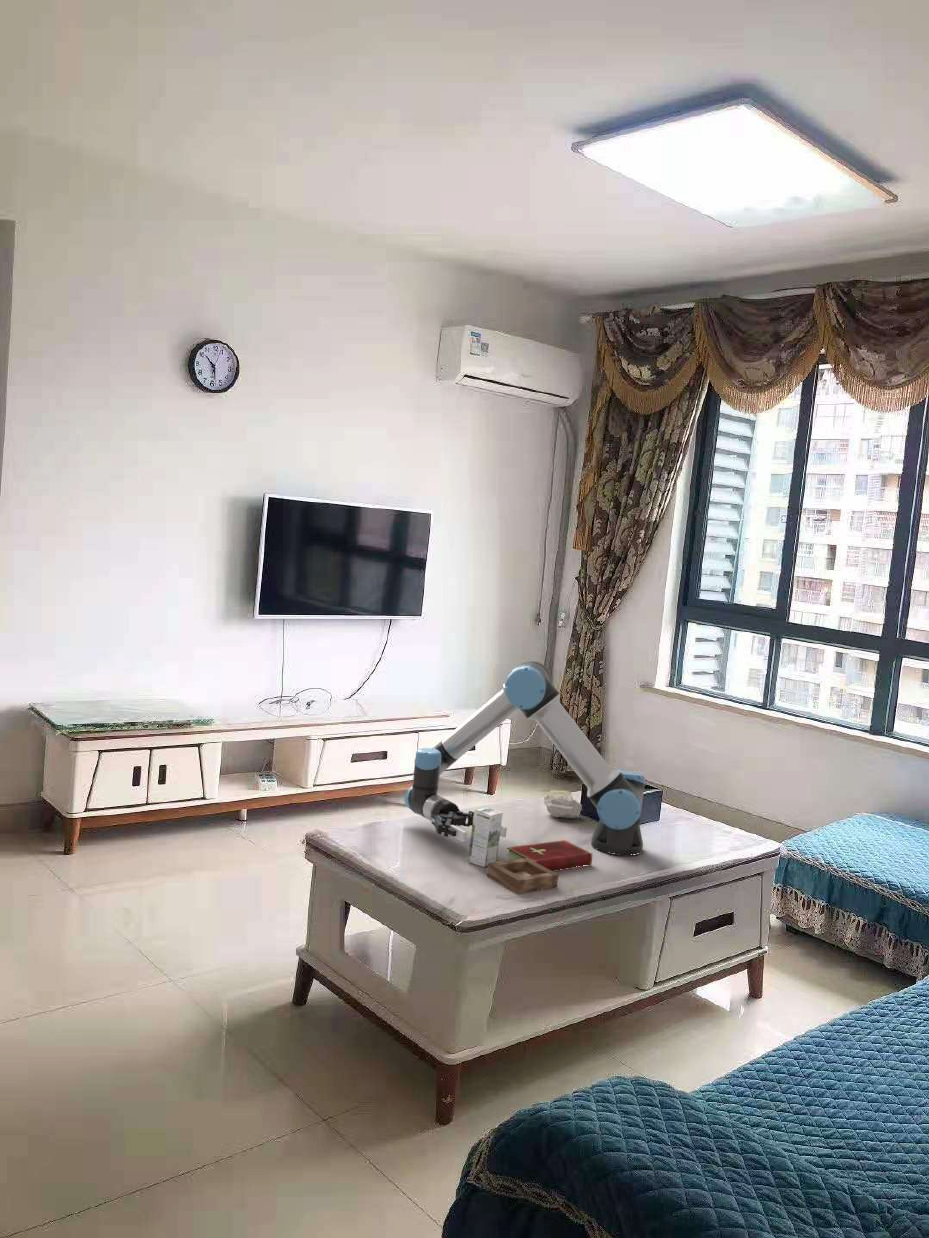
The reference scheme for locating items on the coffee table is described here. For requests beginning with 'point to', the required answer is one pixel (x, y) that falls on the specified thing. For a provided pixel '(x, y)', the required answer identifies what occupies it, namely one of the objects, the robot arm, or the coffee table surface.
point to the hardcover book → (552, 854)
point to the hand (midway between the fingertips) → (485, 834)
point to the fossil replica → (562, 804)
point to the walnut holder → (522, 875)
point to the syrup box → (485, 836)
